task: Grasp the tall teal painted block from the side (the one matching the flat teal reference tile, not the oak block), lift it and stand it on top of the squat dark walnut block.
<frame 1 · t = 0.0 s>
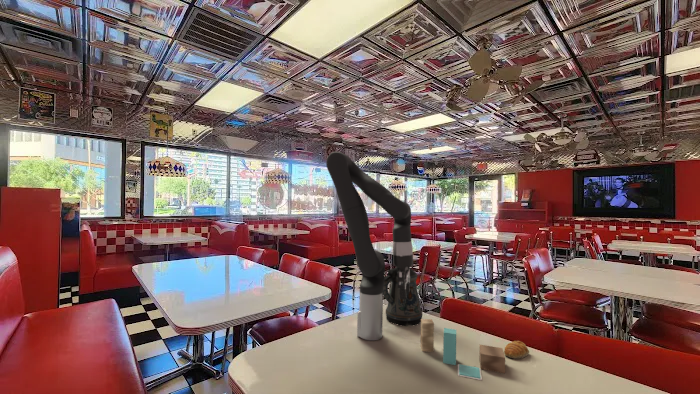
hand: (405, 295, 118), 17 cm above the table, tool pointing down, fingers open, 8 cm apart
pastry: (516, 355, 109), on the table
teal block: (449, 361, 103), on the table
oak block: (426, 348, 111), on the table
reference tile: (469, 372, 96), on the table
beer stein: (402, 320, 138), on the table
walnut block: (491, 366, 101), on the table
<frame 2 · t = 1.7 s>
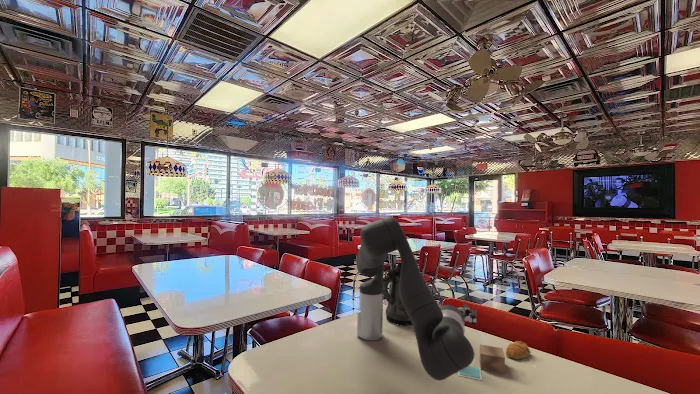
hand: (450, 305, 93), 22 cm above the table, tool horizontal, fingers open, 8 cm apart
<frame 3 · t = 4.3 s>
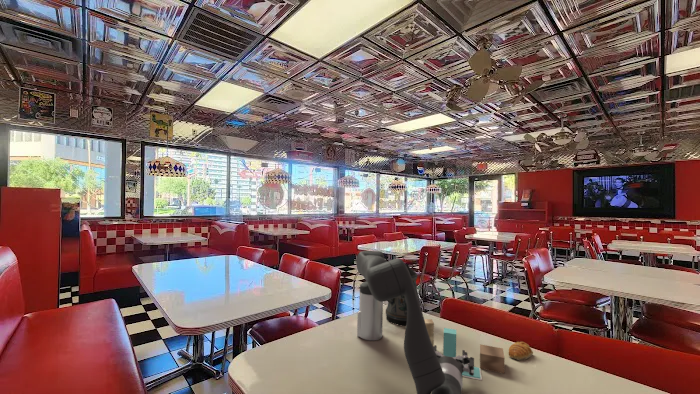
hand: (449, 350, 98), 6 cm above the table, tool horizontal, fingers open, 8 cm apart
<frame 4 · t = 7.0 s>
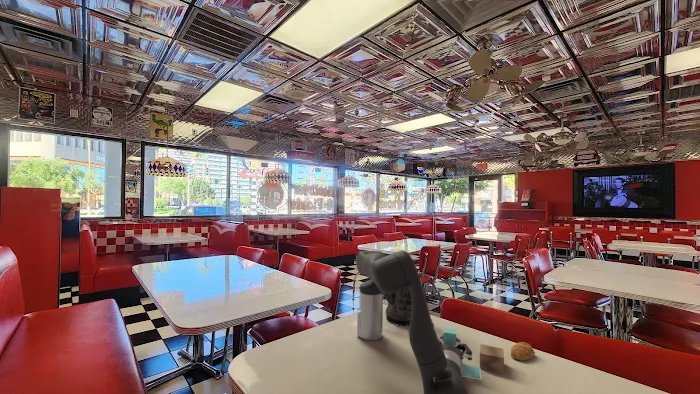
hand: (449, 339, 106), 6 cm above the table, tool horizontal, fingers closed on teal block, 4 cm apart
teal block: (449, 361, 103), on the table, touching gripper
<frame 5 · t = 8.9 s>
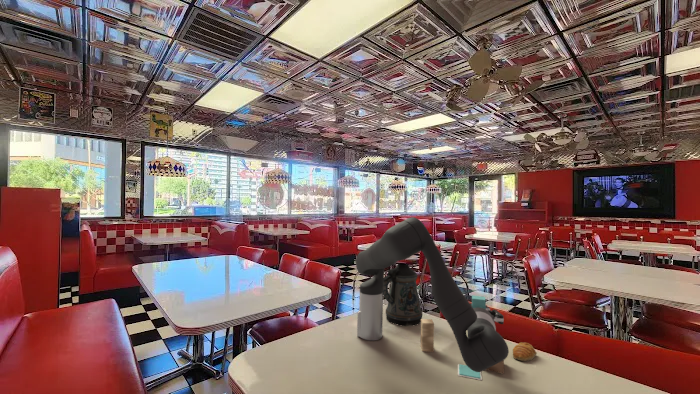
hand: (478, 307, 104), 18 cm above the table, tool horizontal, fingers closed on teal block, 4 cm apart
teal block: (478, 328, 101), point 12 cm above the table, touching gripper
when the fingers open (12 cm above the table, at t = 11.3 s): teal block drops 1 cm, resting on walnut block.
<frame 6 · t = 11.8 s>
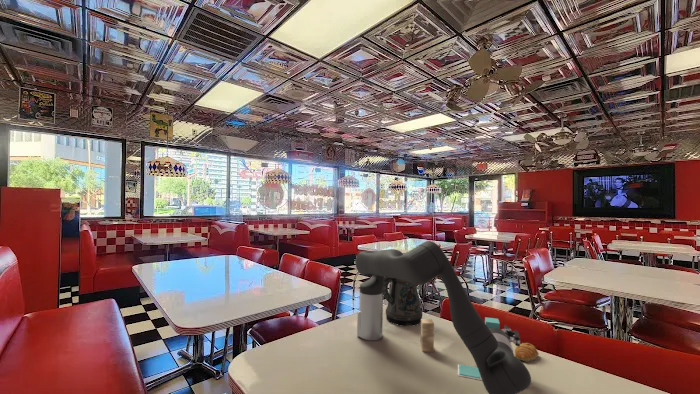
hand: (491, 325, 103), 12 cm above the table, tool horizontal, fingers open, 8 cm apart
teal block: (492, 350, 101), point 5 cm above the table, touching walnut block
walnut block: (491, 366, 101), on the table, touching teal block
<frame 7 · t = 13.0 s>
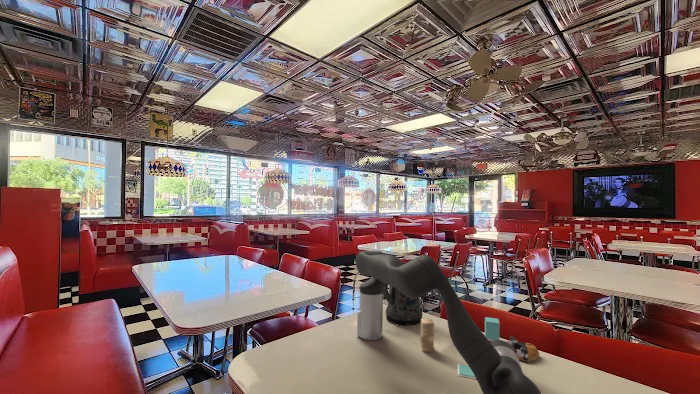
hand: (495, 336, 93), 13 cm above the table, tool horizontal, fingers open, 8 cm apart
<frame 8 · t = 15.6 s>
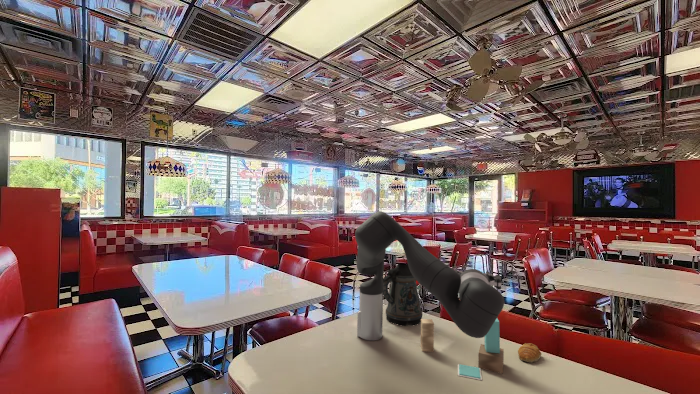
hand: (471, 273, 91), 32 cm above the table, tool horizontal, fingers open, 8 cm apart
at the end: teal block 0.6 cm off-centre on the walnut block, point 5.1 cm above the walnut block's base; teal block tilted 1°; the gripper is holding nothing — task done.
